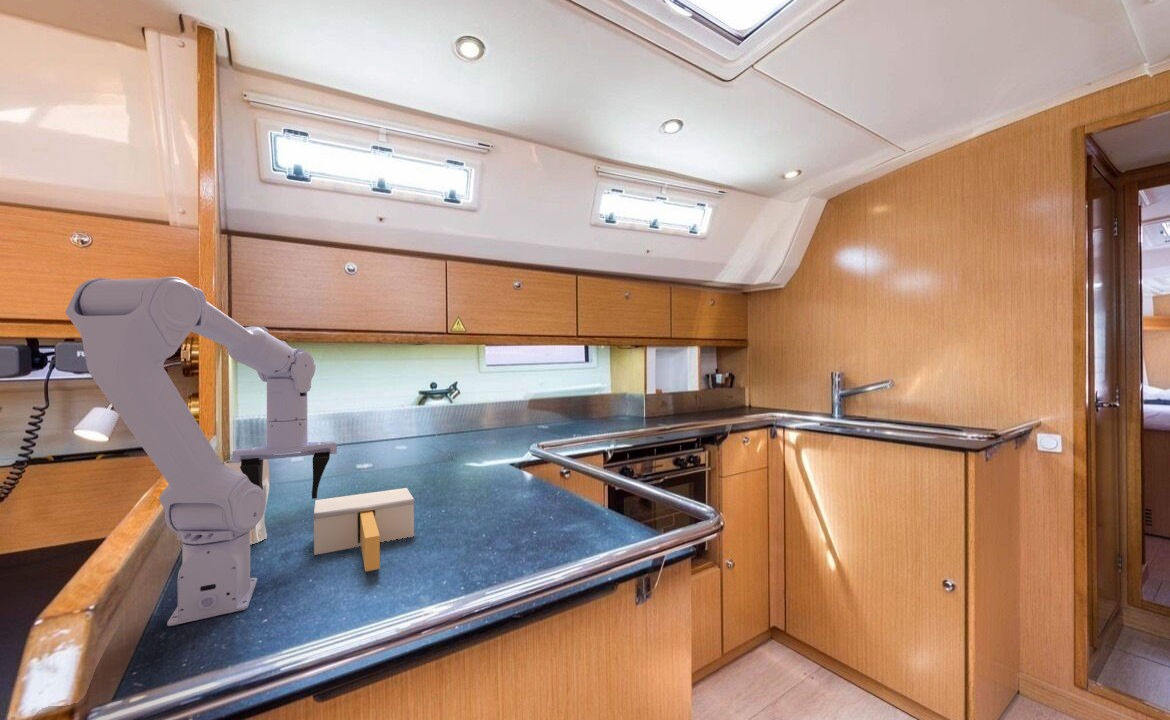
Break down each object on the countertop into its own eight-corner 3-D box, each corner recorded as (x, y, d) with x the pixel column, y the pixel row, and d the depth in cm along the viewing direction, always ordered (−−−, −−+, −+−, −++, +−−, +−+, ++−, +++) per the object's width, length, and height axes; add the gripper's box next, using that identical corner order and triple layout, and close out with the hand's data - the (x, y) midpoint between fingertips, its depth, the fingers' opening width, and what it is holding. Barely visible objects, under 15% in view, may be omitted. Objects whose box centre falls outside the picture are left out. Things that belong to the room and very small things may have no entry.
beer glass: (214, 545, 81) (214, 461, 81) (257, 532, 87) (257, 454, 87) (234, 552, 78) (234, 465, 78) (277, 538, 84) (277, 457, 84)
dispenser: (414, 537, 83) (414, 499, 84) (313, 556, 76) (313, 514, 76) (407, 522, 92) (406, 487, 92) (315, 537, 84) (315, 500, 84)
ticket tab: (379, 568, 68) (379, 535, 68) (365, 571, 67) (365, 538, 67) (372, 538, 81) (372, 510, 81) (360, 540, 80) (360, 512, 80)
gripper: (336, 414, 83) (337, 488, 83) (238, 420, 76) (238, 501, 76) (336, 418, 77) (337, 498, 76) (229, 424, 70) (229, 513, 69)
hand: (287, 500), depth 76 cm, fingers open, 7 cm apart
